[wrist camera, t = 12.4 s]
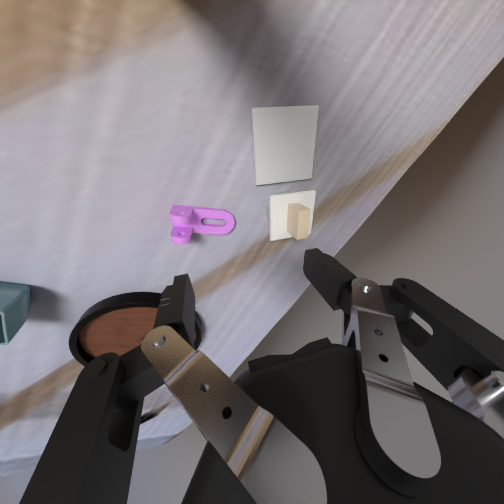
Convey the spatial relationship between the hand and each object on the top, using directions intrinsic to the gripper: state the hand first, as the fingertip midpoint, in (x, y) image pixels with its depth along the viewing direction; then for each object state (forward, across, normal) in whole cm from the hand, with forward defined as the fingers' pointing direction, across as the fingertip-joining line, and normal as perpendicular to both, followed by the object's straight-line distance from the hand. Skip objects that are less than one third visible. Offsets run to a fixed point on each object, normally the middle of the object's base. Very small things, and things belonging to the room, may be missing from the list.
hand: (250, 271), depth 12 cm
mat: (+30, -15, -6) cm, 34 cm away
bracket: (+30, +4, +7) cm, 31 cm away
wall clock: (+31, +27, +38) cm, 56 cm away
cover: (+25, -15, +7) cm, 30 cm away
